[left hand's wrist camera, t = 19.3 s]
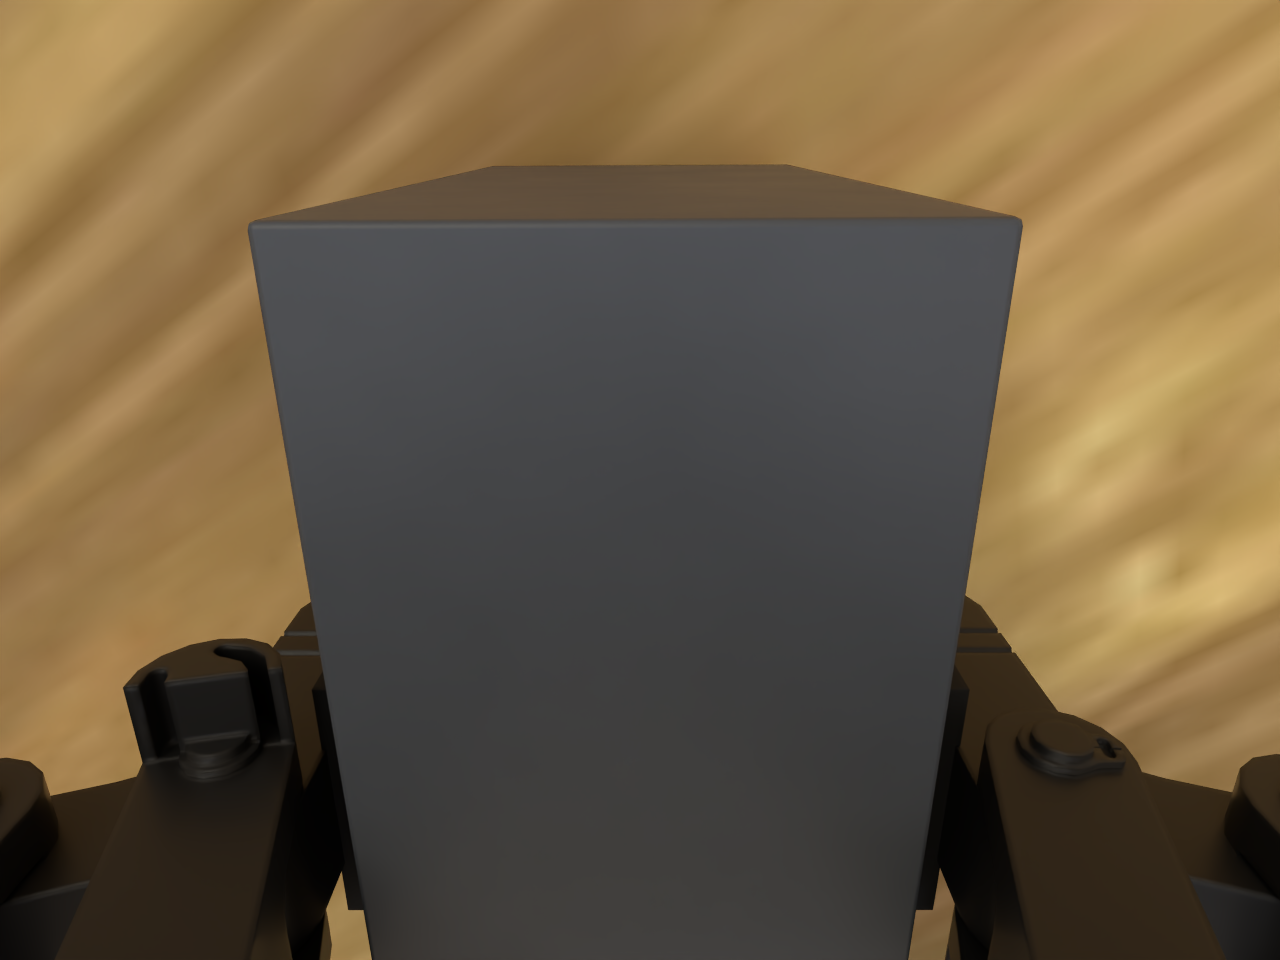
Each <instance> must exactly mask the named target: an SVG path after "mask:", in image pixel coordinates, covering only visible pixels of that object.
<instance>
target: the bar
mask: <svg viewBox="0 0 1280 960" xmlns="http://www.w3.org/2000/svg"><path fill="white" fill-rule="evenodd" d="M1022 228H1023V225H1022V220H1021V219H1019V218H1017V217H1015V216H1011V215H1006V214H1002V213H997V212H993V211H989V210H984V209H980V208H975V207H971V206H967V205H962V204H958V203H953V202H949V201H945V200H940V199H936V198H931V197H927V196H923V195H918V194H914V193H909V192H905V191H901V190H896V189H892V188H887V187H883V186H879V185H874V184H870V183H865V182H861V181H857V180H852V179H848V178H843V177H839V176H835V175H830V174H826V173H821V172H817V171H812V170H808V169H804V168H799V167H795V166H790V165H619V166H492V167H487V168H483V169H479V170H474V171H470V172H465V173H461V174H457V175H452V176H448V177H443V178H439V179H435V180H430V181H426V182H421V183H417V184H413V185H408V186H404V187H399V188H395V189H391V190H386V191H382V192H377V193H373V194H369V195H364V196H360V197H355V198H351V199H347V200H342V201H338V202H333V203H329V204H325V205H320V206H316V207H311V208H307V209H303V210H298V211H294V212H289V213H285V214H281V215H276V216H272V217H267V218H263V219H259V220H255V221H253V222H251V223H249V226H248V235H249V241H250V246H251V252H252V258H253V264H254V270H255V276H256V282H257V287H258V293H259V299H260V305H261V311H262V317H263V323H264V329H265V334H266V340H267V346H268V352H269V358H270V364H271V370H272V375H273V381H274V387H275V393H276V399H277V405H278V411H279V417H280V422H281V428H282V434H283V440H284V446H285V452H286V458H287V464H288V469H289V475H290V481H291V487H292V493H293V499H294V505H295V510H296V516H297V522H298V528H299V534H300V540H301V546H302V552H303V557H304V563H305V569H306V575H307V581H308V587H309V593H310V599H311V604H312V610H313V616H314V622H315V628H316V634H317V640H318V645H319V651H320V657H321V663H322V669H323V675H324V681H325V687H326V692H327V698H328V704H329V710H330V716H331V722H332V728H333V734H334V739H335V745H336V751H337V757H338V763H339V769H340V775H341V780H342V786H343V792H344V798H345V804H346V810H347V816H348V822H349V827H350V833H351V839H352V845H353V851H354V857H355V863H356V868H357V874H358V880H359V886H360V892H361V898H362V904H363V910H364V915H365V921H366V927H367V933H368V939H369V945H370V951H371V957H372V960H908V957H909V951H910V944H911V938H912V931H913V925H914V919H915V912H916V906H917V899H918V893H919V887H920V880H921V874H922V868H923V861H924V855H925V848H926V842H927V836H928V829H929V823H930V816H931V810H932V804H933V797H934V791H935V784H936V778H937V772H938V765H939V759H940V752H941V746H942V740H943V733H944V727H945V720H946V714H947V708H948V701H949V695H950V689H951V682H952V676H953V669H954V663H955V657H956V650H957V644H958V637H959V631H960V625H961V618H962V612H963V605H964V599H965V593H966V586H967V580H968V573H969V567H970V561H971V554H972V548H973V542H974V535H975V529H976V522H977V516H978V510H979V503H980V497H981V490H982V484H983V478H984V471H985V465H986V458H987V452H988V446H989V439H990V433H991V426H992V420H993V414H994V407H995V401H996V394H997V388H998V382H999V375H1000V369H1001V363H1002V356H1003V350H1004V343H1005V337H1006V331H1007V324H1008V318H1009V311H1010V305H1011V299H1012V292H1013V286H1014V279H1015V273H1016V267H1017V260H1018V254H1019V247H1020V241H1021V235H1022Z"/></svg>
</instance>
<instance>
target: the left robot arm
mask: <svg viewBox="0 0 1280 960" xmlns="http://www.w3.org/2000/svg"><path fill="white" fill-rule="evenodd" d="M123 690H124V693H125V697H126V701H127V705H128V709H129V712H130V716H131V720H132V724H133V728H134V731H135V735H136V739H137V743H138V747H139V751H140V754H141V758H142V762H143V764H142V766H141V768H140V771H139V773H138V775H137V777H134V778H130V779H126V780H123V781H119V782H115V783H110V784H105V785H101V786H96V787H91V788H86V789H82V790H77V791H72V792H67V793H62V794H58V795H53V796H50V794H49V791H48V787H47V784H46V781H45V778H44V775H43V772H42V771H41V770H39V769H38V768H37V767H36V766H35V765H33V764H32V763H31V762H29V761H23V760H17V759H11V758H0V960H330V956H331V947H332V943H331V936H330V929H329V923H328V917H327V912H326V908H327V905H328V903H329V901H330V898H331V896H332V893H333V891H334V888H335V886H336V883H337V881H338V879H339V876H340V874H341V871H342V875H343V881H344V887H345V893H346V899H347V905H348V910H363V904H362V898H361V892H360V886H359V880H358V874H357V868H356V863H355V857H354V851H353V845H352V839H351V833H350V827H349V822H348V816H347V810H346V804H345V798H344V792H343V786H342V780H341V775H340V769H339V763H338V757H337V751H336V745H335V739H334V734H333V728H332V722H331V716H330V710H329V704H328V698H327V692H326V687H325V681H324V675H323V669H322V663H321V657H320V651H319V645H318V640H317V634H316V628H315V622H314V616H313V610H312V604H311V602H310V603H309V604H307V605H306V606H304V607H303V608H301V609H300V611H299V612H298V614H297V615H296V616H295V618H294V619H293V620H292V622H291V623H290V625H289V626H288V627H287V629H286V630H285V632H284V636H281V637H280V638H279V640H278V641H277V643H276V644H275V645H274V647H271V646H270V645H269V644H267V643H263V642H259V641H255V640H251V639H217V640H212V641H207V642H203V643H198V644H193V645H189V646H186V647H184V648H181V649H178V650H176V651H173V652H171V653H168V654H165V655H163V656H161V657H159V658H157V659H156V660H154V661H153V662H151V663H149V664H148V665H146V666H145V667H143V668H141V669H140V670H138V671H137V672H136V673H135V675H134V676H133V677H132V678H131V679H130V680H129V681H128V682H127V684H126V685H125V686H124V687H123ZM940 869H941V871H942V874H943V876H944V878H945V881H946V883H947V886H948V888H949V891H950V893H951V895H952V898H953V900H954V903H955V906H954V912H953V917H952V923H951V928H950V934H949V940H948V945H947V951H946V956H945V960H1280V754H1274V755H1268V756H1261V757H1255V758H1252V759H1251V760H1250V761H1249V762H1247V763H1246V764H1245V765H1244V766H1242V767H1241V768H1240V770H1239V773H1238V776H1237V780H1236V783H1235V786H1234V789H1233V792H1227V791H1222V790H1218V789H1213V788H1208V787H1203V786H1198V785H1194V784H1189V783H1184V782H1179V781H1174V780H1170V779H1165V778H1162V777H1158V776H1154V775H1151V774H1147V773H1143V772H1142V771H1141V769H1140V767H1139V765H1138V762H1137V761H1136V760H1135V758H1134V757H1133V756H1132V754H1131V753H1130V752H1129V750H1128V749H1127V748H1126V746H1125V745H1124V744H1123V743H1122V742H1120V741H1119V740H1118V739H1116V738H1115V737H1114V736H1112V735H1111V734H1109V733H1108V732H1107V731H1105V730H1104V729H1103V728H1101V727H1099V726H1096V725H1094V724H1092V723H1090V722H1087V721H1085V720H1083V719H1081V718H1078V717H1076V716H1074V715H1069V714H1065V713H1061V712H1058V711H1057V709H1056V708H1055V707H1054V705H1053V704H1052V703H1051V701H1050V700H1049V699H1048V697H1047V696H1046V694H1045V693H1044V692H1043V690H1042V689H1041V688H1040V686H1039V685H1038V683H1037V682H1036V681H1035V679H1034V678H1033V677H1032V675H1031V674H1030V673H1029V671H1028V670H1027V668H1026V667H1025V666H1024V664H1023V663H1022V662H1021V660H1020V659H1019V657H1018V656H1017V655H1016V653H1012V651H1011V646H1010V645H1009V644H1008V642H1007V641H1006V640H1005V638H1004V637H1003V636H1002V634H1001V633H998V631H997V627H996V626H995V625H994V623H993V622H992V620H991V619H990V618H989V616H988V615H987V614H986V612H985V611H984V610H983V608H982V607H981V606H980V605H979V604H977V603H976V602H974V601H973V600H971V599H970V598H968V597H967V596H965V599H964V605H963V612H962V618H961V625H960V631H959V637H958V644H957V650H956V657H955V663H954V669H953V676H952V682H951V689H950V695H949V701H948V708H947V714H946V720H945V727H944V733H943V740H942V746H941V752H940V759H939V765H938V772H937V778H936V784H935V791H934V797H933V804H932V810H931V816H930V823H929V829H928V836H927V842H926V848H925V855H924V861H923V868H922V874H921V880H920V887H919V893H918V899H917V906H916V910H933V906H934V900H935V894H936V888H937V882H938V876H939V870H940Z"/></svg>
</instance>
